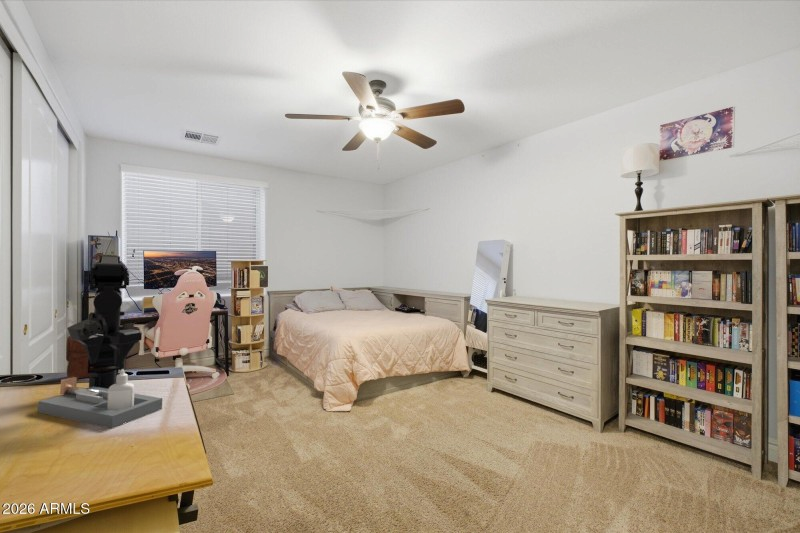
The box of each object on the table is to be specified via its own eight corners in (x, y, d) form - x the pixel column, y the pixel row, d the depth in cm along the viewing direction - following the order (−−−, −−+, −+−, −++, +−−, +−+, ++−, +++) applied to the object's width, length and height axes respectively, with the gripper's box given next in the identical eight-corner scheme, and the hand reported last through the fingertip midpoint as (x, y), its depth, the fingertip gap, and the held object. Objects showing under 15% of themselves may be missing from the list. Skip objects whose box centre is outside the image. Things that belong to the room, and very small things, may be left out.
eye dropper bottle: (122, 418, 96) (123, 372, 96) (103, 416, 96) (105, 371, 97) (136, 412, 100) (138, 368, 100) (118, 410, 101) (120, 367, 101)
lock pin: (72, 391, 106) (73, 376, 106) (102, 396, 102) (103, 381, 102) (60, 394, 103) (61, 379, 103) (90, 400, 99) (91, 385, 99)
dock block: (92, 396, 111) (93, 381, 111) (161, 408, 103) (162, 393, 103) (37, 412, 98) (38, 395, 98) (112, 428, 90) (112, 410, 90)
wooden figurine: (107, 371, 136) (109, 322, 137) (110, 374, 132) (112, 325, 132) (64, 376, 128) (66, 325, 128) (65, 381, 123) (68, 328, 124)
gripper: (49, 308, 95) (46, 368, 95) (101, 314, 90) (99, 377, 90) (94, 304, 106) (92, 358, 106) (144, 310, 101) (142, 366, 101)
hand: (105, 364), depth 100 cm, fingers open, 9 cm apart
